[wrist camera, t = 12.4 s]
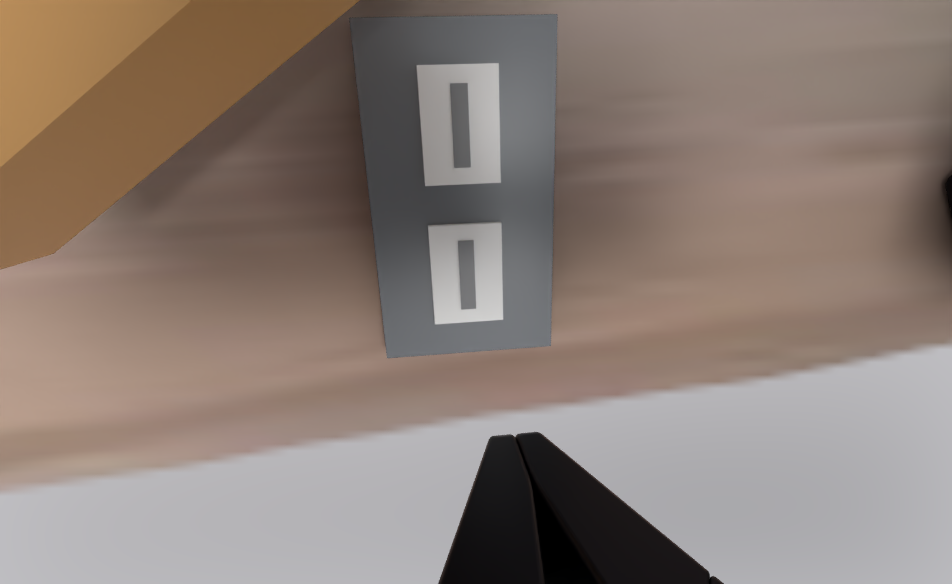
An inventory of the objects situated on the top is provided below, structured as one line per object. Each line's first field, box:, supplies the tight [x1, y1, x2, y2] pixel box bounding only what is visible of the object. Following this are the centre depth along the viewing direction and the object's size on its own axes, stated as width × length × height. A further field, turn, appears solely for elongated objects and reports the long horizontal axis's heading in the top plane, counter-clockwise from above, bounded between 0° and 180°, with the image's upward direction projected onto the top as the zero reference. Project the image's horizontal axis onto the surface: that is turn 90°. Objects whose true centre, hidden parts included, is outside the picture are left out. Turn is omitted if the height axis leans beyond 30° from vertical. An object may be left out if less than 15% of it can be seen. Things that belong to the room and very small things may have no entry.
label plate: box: [349, 14, 557, 358], centre depth 17 cm, size 12×7×1 cm, turn 2°
